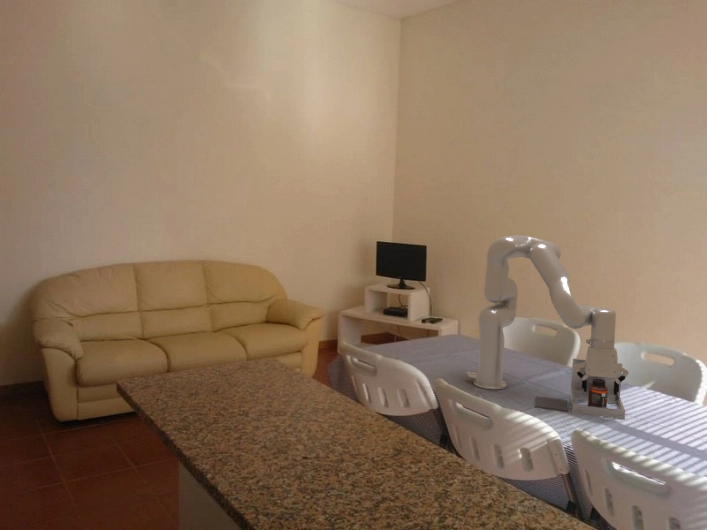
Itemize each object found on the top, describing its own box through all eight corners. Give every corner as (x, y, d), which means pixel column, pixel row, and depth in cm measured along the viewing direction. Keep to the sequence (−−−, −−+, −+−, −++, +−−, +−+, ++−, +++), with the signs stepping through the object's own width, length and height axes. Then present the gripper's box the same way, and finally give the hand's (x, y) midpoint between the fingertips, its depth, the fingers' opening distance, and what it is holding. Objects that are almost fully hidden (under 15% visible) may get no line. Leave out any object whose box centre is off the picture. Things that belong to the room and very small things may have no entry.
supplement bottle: (607, 415, 194) (610, 383, 193) (589, 413, 195) (591, 381, 194) (603, 409, 200) (606, 378, 199) (586, 407, 201) (588, 376, 200)
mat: (534, 407, 200) (535, 405, 200) (535, 397, 210) (535, 396, 210) (568, 411, 196) (568, 410, 196) (567, 401, 207) (567, 400, 207)
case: (571, 412, 196) (574, 370, 194) (570, 396, 212) (572, 357, 210) (624, 419, 190) (628, 376, 189) (618, 402, 207) (621, 362, 205)
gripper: (575, 344, 194) (573, 392, 196) (631, 348, 188) (628, 398, 190) (574, 339, 201) (572, 386, 203) (628, 343, 195) (625, 391, 197)
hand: (599, 392), depth 196 cm, fingers open, 9 cm apart
